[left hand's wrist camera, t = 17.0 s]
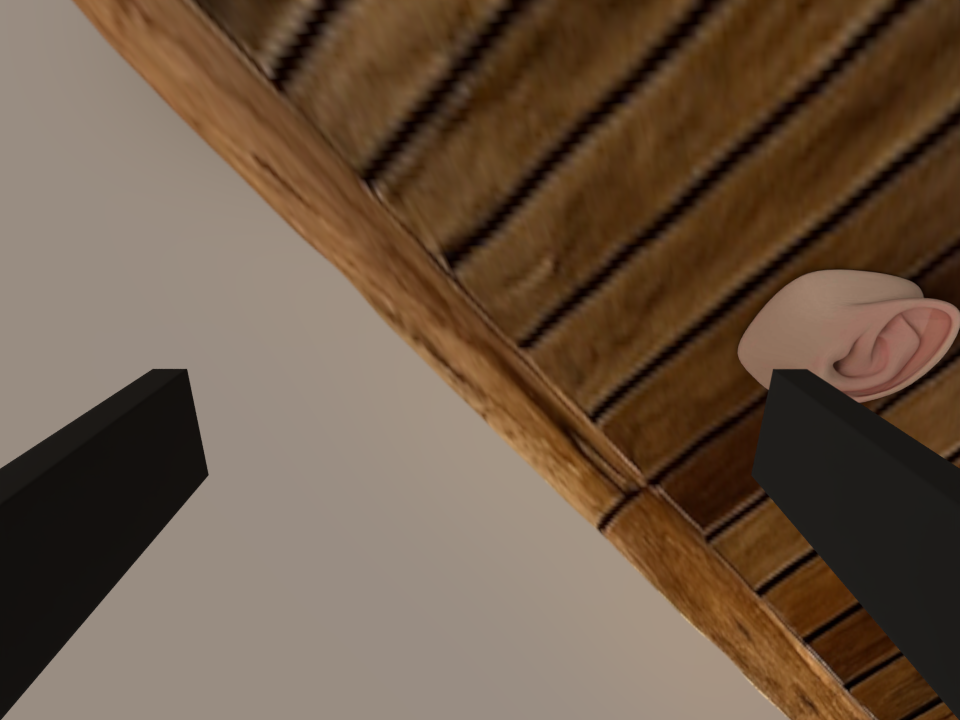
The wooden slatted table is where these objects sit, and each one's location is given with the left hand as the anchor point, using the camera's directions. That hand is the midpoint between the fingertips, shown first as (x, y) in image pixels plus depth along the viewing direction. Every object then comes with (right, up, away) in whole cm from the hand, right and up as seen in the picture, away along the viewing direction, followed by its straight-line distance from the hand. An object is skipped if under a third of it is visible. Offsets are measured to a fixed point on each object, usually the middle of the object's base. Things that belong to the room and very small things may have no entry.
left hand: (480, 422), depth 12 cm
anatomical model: (+28, +3, +31) cm, 41 cm away
